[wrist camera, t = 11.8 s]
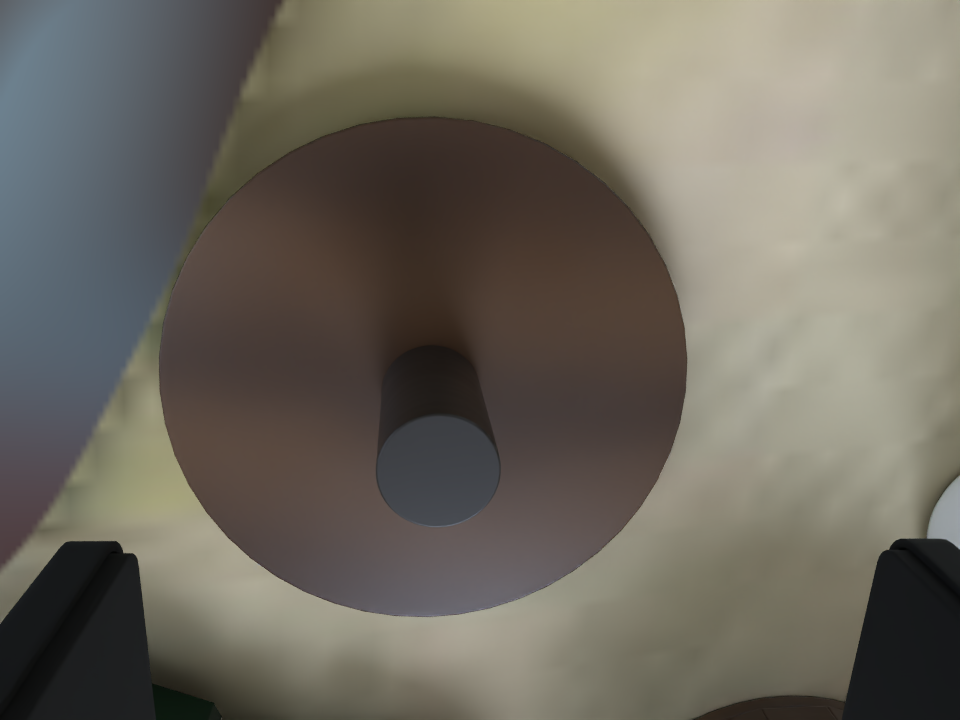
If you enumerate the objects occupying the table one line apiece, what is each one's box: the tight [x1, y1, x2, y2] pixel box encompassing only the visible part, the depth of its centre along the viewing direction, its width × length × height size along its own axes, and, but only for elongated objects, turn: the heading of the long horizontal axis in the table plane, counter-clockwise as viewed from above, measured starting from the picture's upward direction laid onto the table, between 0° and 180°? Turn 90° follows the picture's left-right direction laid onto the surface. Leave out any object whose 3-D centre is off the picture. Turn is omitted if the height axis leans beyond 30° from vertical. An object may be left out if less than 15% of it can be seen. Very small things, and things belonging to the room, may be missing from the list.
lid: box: [159, 116, 687, 617], centre depth 20 cm, size 14×14×6 cm
